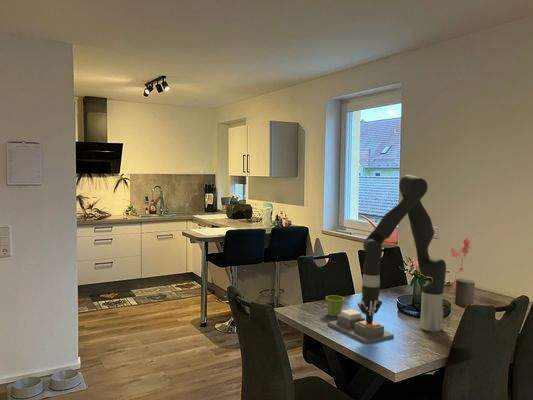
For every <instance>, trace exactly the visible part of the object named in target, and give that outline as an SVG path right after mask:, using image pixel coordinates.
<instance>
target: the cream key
mask: <svg viewBox="0 0 533 400" xmlns="http://www.w3.org/2000/svg"><path fill="white" fill-rule="evenodd" d="M340 315H341V316H342V317H344V318H346V319H349V320H354V319H359V318H361V317H362V312H359V311H357V310H356V309H345V310H341V314H340Z"/></svg>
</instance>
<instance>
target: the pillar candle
mask: <svg viewBox="0 0 533 400" xmlns="http://www.w3.org/2000/svg"><path fill="white" fill-rule="evenodd" d="M475 283H476V281H475V280H473V279H470V278H466V277H465V278H461V277H459V278H456V290H455V292H454V294H455V295H454V305H457V306H459V307H464V306H465V307H466V306H467V305H471V304H473V305H474V298H475V292H474V291H475V285H476V284H475Z"/></svg>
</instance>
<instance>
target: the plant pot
mask: <svg viewBox="0 0 533 400" xmlns="http://www.w3.org/2000/svg"><path fill="white" fill-rule="evenodd" d="M325 300H326V302H327V304H326V305H327V314H328V316H331V317H337V315H341V311H342V308H343V303H344V301H345V297H343V296H340V295H332V294H331V295H327V296H325Z"/></svg>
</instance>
